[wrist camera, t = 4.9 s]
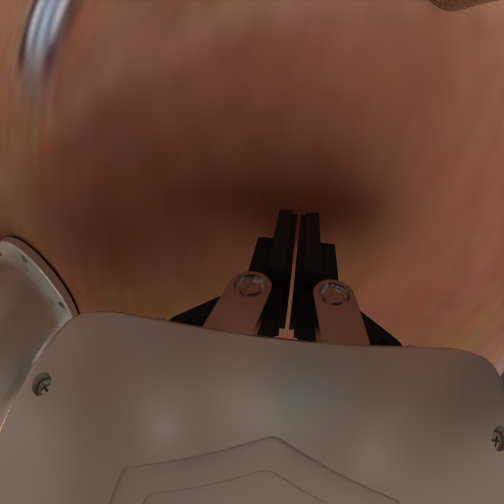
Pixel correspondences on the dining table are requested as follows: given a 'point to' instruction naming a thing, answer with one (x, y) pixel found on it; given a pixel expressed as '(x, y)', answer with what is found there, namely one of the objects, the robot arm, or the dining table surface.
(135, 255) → the dining table surface
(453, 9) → the outer post
